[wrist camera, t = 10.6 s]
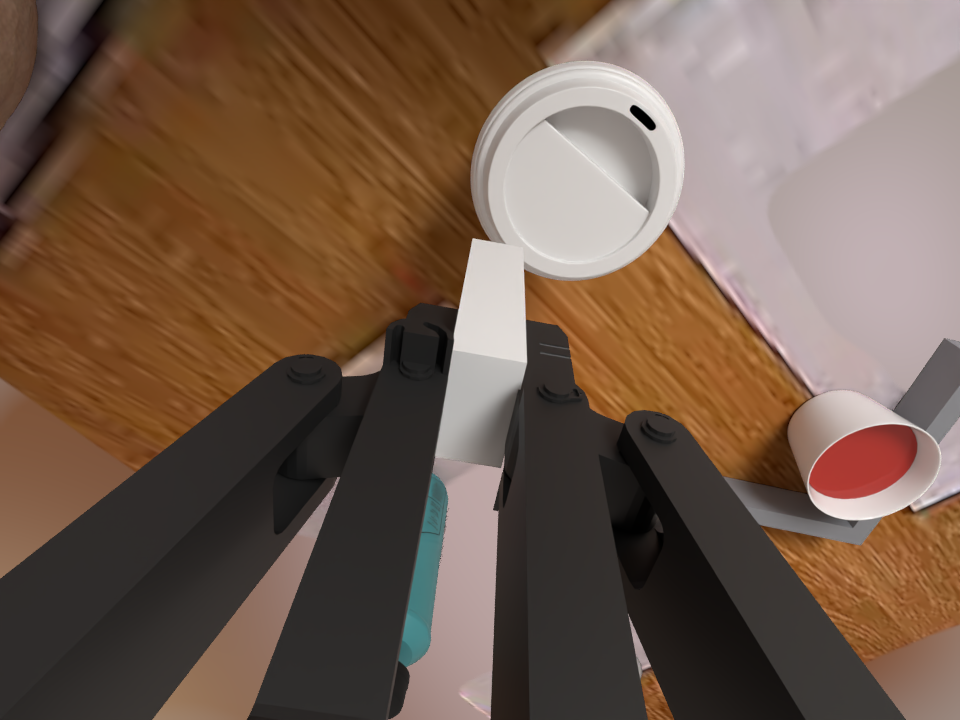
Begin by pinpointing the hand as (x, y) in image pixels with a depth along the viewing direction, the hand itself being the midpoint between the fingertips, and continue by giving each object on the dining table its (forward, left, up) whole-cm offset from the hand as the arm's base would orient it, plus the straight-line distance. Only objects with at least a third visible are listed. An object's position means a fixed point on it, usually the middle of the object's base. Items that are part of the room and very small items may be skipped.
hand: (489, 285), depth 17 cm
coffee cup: (-2, +3, -24) cm, 24 cm away
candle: (+14, +31, -24) cm, 42 cm away
